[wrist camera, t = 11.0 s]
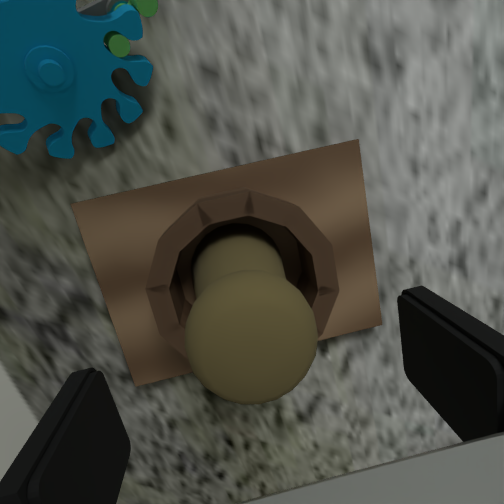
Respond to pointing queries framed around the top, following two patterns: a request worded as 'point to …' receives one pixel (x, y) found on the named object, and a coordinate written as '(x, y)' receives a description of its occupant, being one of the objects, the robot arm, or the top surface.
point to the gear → (67, 67)
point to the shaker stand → (222, 213)
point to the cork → (247, 318)
